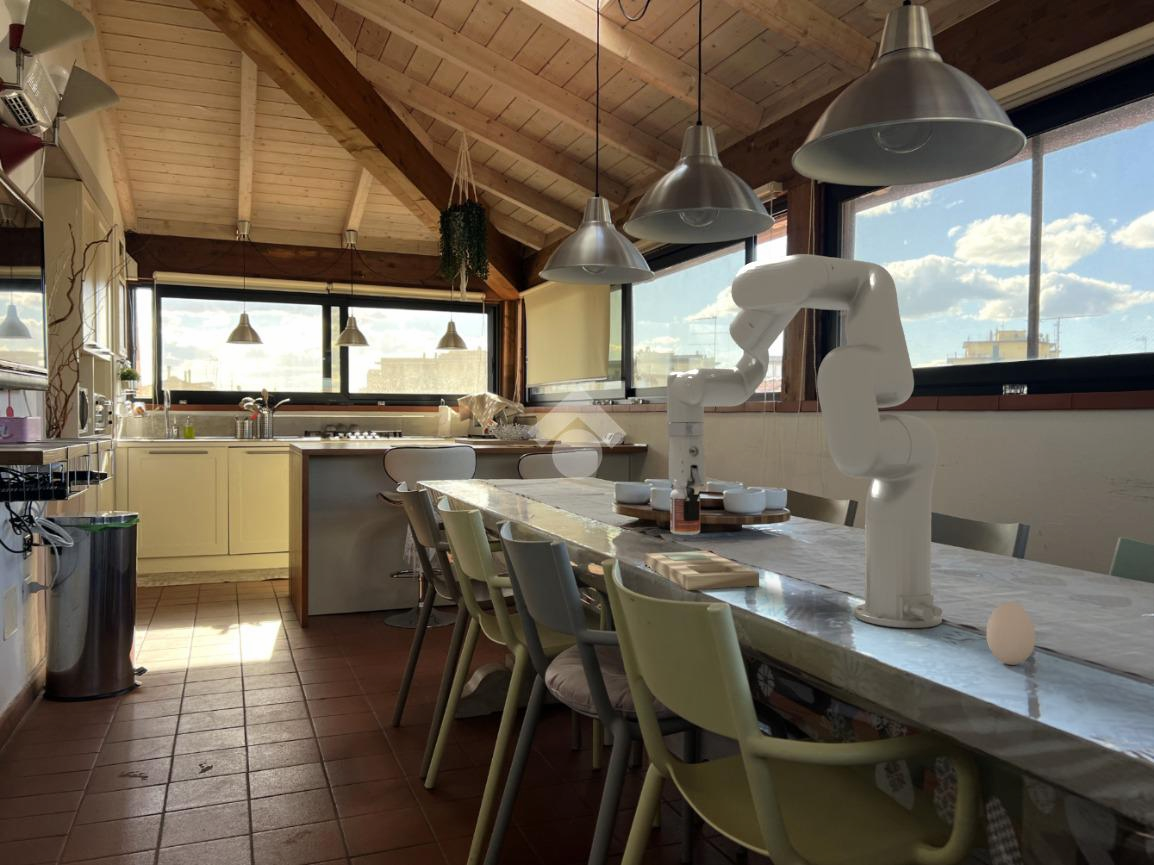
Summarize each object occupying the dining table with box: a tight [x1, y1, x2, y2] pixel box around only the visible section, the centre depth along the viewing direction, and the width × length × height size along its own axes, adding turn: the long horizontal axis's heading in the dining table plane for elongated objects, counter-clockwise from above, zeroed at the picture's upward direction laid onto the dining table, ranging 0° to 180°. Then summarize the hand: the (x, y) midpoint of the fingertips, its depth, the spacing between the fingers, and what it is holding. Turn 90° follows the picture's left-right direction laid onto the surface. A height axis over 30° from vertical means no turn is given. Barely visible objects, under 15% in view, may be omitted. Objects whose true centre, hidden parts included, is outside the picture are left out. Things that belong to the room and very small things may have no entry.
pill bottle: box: [669, 480, 701, 536], centre depth 172 cm, size 6×6×11 cm
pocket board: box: [643, 550, 760, 591], centre depth 165 cm, size 26×14×3 cm, turn 13°
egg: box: [986, 601, 1036, 666], centre depth 106 cm, size 6×6×8 cm
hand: (685, 517), depth 172 cm, fingers closed on pill bottle, 6 cm apart
